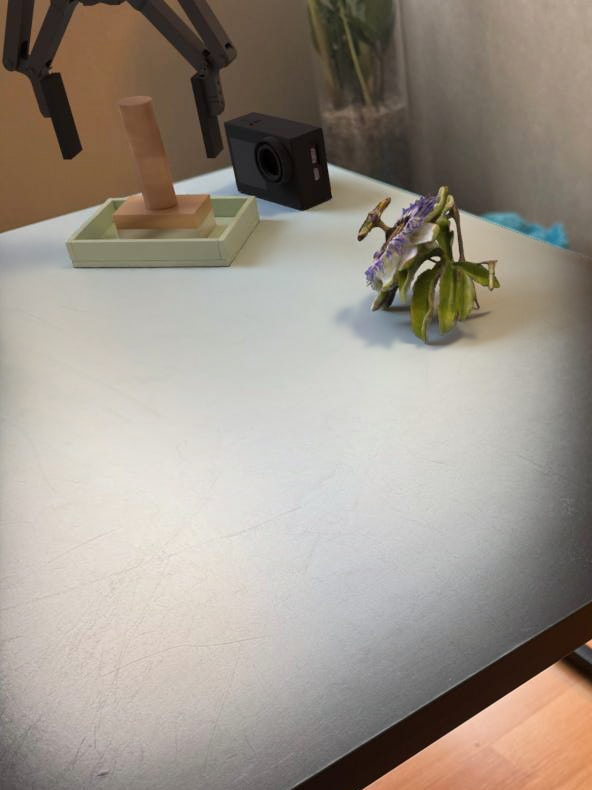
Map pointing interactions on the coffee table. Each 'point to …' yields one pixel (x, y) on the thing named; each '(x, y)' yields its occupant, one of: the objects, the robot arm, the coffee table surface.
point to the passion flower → (411, 249)
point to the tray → (105, 249)
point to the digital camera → (279, 160)
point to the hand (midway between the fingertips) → (144, 154)
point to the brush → (157, 185)
